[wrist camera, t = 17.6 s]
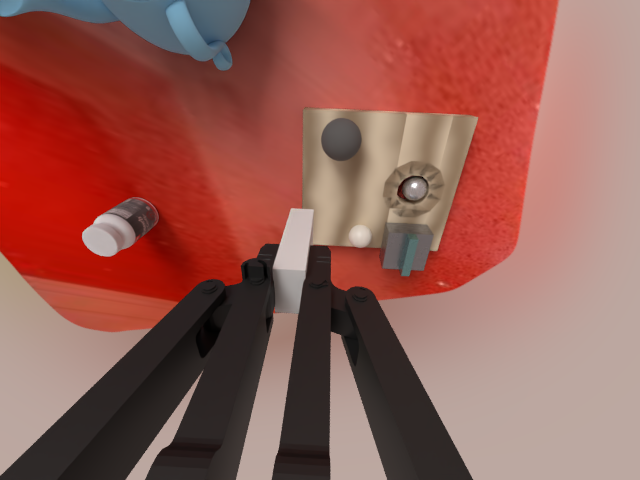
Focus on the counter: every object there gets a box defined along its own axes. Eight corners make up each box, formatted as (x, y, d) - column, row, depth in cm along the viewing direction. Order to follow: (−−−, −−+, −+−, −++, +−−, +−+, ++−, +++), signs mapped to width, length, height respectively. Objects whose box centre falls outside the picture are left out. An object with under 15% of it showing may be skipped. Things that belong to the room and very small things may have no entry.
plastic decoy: (347, 239, 44) (348, 251, 41) (349, 220, 43) (350, 231, 40) (368, 240, 44) (371, 252, 41) (371, 221, 42) (374, 232, 39)
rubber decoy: (321, 154, 38) (319, 164, 33) (322, 114, 35) (321, 120, 31) (357, 156, 37) (360, 166, 33) (362, 116, 35) (366, 122, 31)
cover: (379, 256, 46) (383, 274, 41) (385, 222, 42) (391, 238, 38) (417, 258, 45) (426, 277, 41) (427, 224, 42) (437, 240, 38)
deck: (303, 236, 47) (302, 243, 45) (304, 107, 37) (303, 109, 35) (432, 242, 47) (437, 251, 45) (469, 114, 37) (478, 117, 34)
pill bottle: (160, 230, 48) (123, 264, 39) (126, 222, 47) (81, 254, 39) (159, 201, 45) (119, 231, 36) (123, 191, 44) (73, 219, 36)
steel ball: (395, 199, 41) (414, 205, 39) (398, 175, 40) (418, 180, 37) (410, 195, 43) (430, 200, 41) (414, 172, 42) (434, 177, 39)
